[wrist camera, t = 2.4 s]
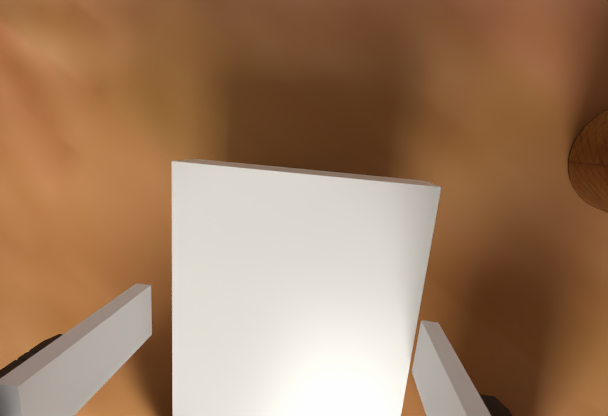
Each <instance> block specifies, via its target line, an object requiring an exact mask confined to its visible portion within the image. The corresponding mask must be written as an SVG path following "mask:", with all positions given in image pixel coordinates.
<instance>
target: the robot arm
mask: <svg viewBox="0 0 608 416" xmlns="http://www.w3.org/2000/svg"><path fill="white" fill-rule="evenodd" d="M151 335H152V311H151V285H145V284H138V283H136V284H135V285H133V286H132V287H130V288H129V289H128V290H126V291H125V292H123V293H122V294H120V295H119V296H118V297H116V298H115V299H113V300H112V301H110V302H109V303H108V304H106V305H105V306H103V307H102V308H100V309H99V310H98V311H96V312H95V313H93V314H92V315H90V316H89V317H88V318H86V319H85V320H83V321H82V322H80V323H79V324H78V325H76V326H75V327H73V328H72V329H70V330H69V331H68V332H66V333H65V334H58V335H56V336H54V337H52V338H49V339H47V340H45V341H43V342H41V343H40V344H38V345H37V346H35V347H34V348H32V349H31V350H29V352H26V353H25V354H23V355H22V356H20V357H19V358H18V360H15V361H13V362H12V363H10V364H9V365H7V366H6V367H4V368H3V369H1V370H0V416H74V415H75V414H76V413H77V412H78V411H79V410H80V409H81V408H82V407H83V406H84V405H85V404H86V403H87V402H88V400H89V399H90V398H91V397H92V396H93V395H94V394H95V393H96V392H97V391H98V390H99V389H100V388H101V387H102V386H103V385H104V384H105V383H106V382H107V381H108V380H109V379H110V378H111V377H112V376H113V375H114V374H115V372H116V371H117V370H118V369H119V368H120V367H121V366H122V365H123V364H124V363H125V362H126V361H127V360H128V359H129V358H130V357H131V356H132V355H133V354H134V353H135V352H136V351H137V350H138V349H139V348H140V347H141V345H142V344H143V343H144V342H145V341H146V340H147V339H148V338H149V337H150V336H151ZM412 374H413V377H414V380H415V383H416V386H417V389H418V392H419V395H420V398H421V401H422V404H423V407H424V410H425V413H426V416H512V415H511V414H510V412H509V410H508V409H507V408H506V407H505V406H504V405H503V404H501V403H500V402H499V401H498V400H497V399H496V398H495V397H493V396H486V395H479V393H478V392H477V390H476V388H475V386H474V385H473V383H472V381H471V379H470V378H469V376H468V374H467V372H466V370H465V369H464V367H463V365H462V363H461V362H460V360H459V358H458V356H457V355H456V353H455V351H454V349H453V348H452V346H451V344H450V342H449V341H448V339H447V337H446V335H445V333H444V332H443V330H442V328H441V326H440V325H439V323H438V322H431V321H423V320H421V324H420V330H419V335H418V341H417V346H416V352H415V357H414V363H413V368H412Z"/></svg>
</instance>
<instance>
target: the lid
mask: <svg viewBox="0 0 608 416" xmlns="http://www.w3.org/2000/svg"><path fill="white" fill-rule="evenodd" d="M440 191H441V187H440V186H437V185H435V184H432V183H430V182H428V181H424V180H414V179H403V178H393V177H382V176H372V175H361V174H351V173H340V172H330V171H319V170H309V169H298V168H288V167H277V166H267V165H256V164H246V163H235V162H224V161H214V160H203V159H189V160H178V161H172V416H401V411H402V406H403V400H404V394H405V389H406V383H407V377H408V372H409V366H410V360H411V355H412V349H413V343H414V338H415V332H416V326H417V321H418V315H419V310H420V304H421V298H422V293H423V287H424V281H425V276H426V270H427V264H428V259H429V253H430V247H431V242H432V236H433V230H434V225H435V219H436V213H437V208H438V202H439V196H440Z"/></svg>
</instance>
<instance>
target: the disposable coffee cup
mask: <svg viewBox="0 0 608 416" xmlns="http://www.w3.org/2000/svg"><path fill="white" fill-rule="evenodd" d="M569 177H570V180H571V183H572V185H573V188H574V189H575V191H576V192H577V194H578V195H579V196H580V197H581V198H582V199H583V200H584V201H585V202H586V203H588V204H590V205H592V206H593V207H595V208H597V209H600V210H603V211H605V212H608V110H606V111H604V112H603V113H601V114H600V115H598V116H597V117H595V118H594V119H593V120H592V121H591V122H590V123H589V124H587V125H586V126H585V127H584V129H583V130H582V132H581V133H580V134H579V136H578V137H577V139H576V141H575V143H574V145H573V146H572V150H571V153H570V156H569Z"/></svg>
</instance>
